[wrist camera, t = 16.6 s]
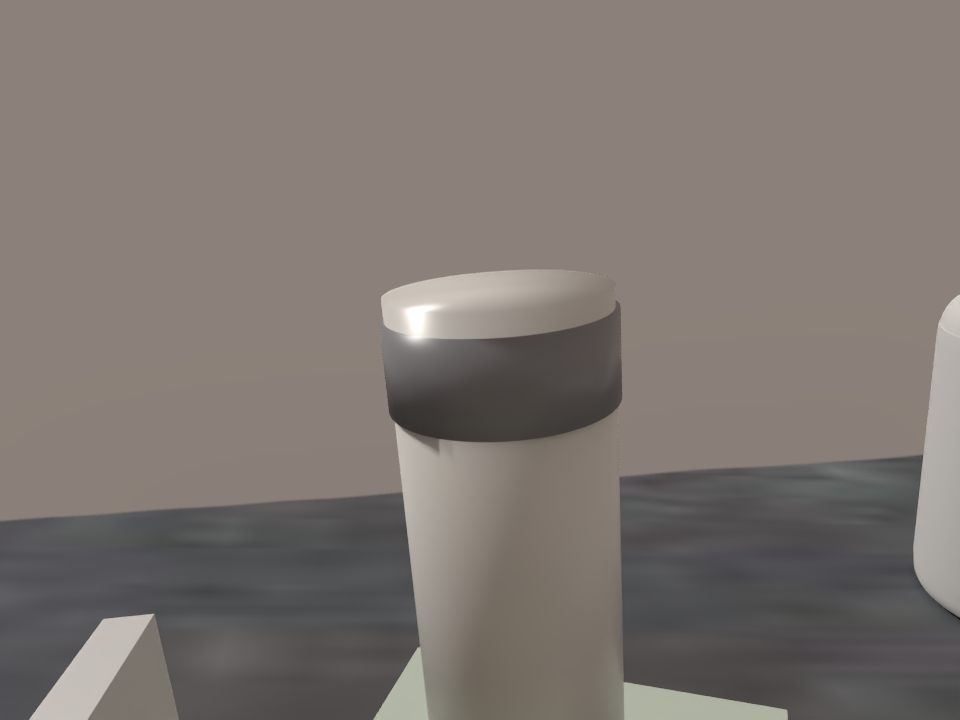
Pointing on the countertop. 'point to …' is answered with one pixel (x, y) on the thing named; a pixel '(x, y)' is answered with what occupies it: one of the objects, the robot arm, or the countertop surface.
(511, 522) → the white round peg
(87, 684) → the robot arm
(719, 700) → the mat
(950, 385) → the pill bottle
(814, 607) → the countertop surface
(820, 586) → the countertop surface
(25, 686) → the countertop surface
